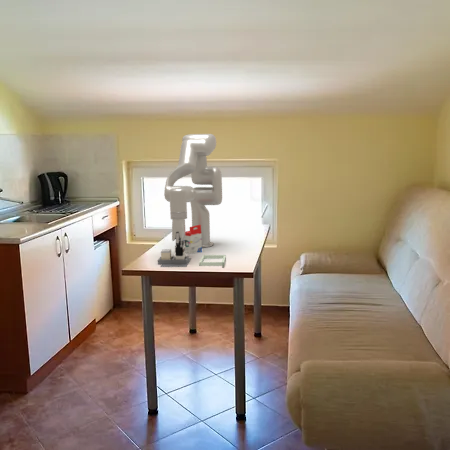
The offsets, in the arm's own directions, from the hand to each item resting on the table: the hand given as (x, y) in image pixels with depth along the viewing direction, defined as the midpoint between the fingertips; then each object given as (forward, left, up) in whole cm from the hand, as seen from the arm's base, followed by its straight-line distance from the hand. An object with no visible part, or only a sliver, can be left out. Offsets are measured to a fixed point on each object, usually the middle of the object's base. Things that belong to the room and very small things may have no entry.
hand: (180, 254), depth 228 cm
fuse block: (0, -2, -5) cm, 5 cm away
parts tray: (-1, +15, -5) cm, 16 cm away
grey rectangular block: (0, 0, -4) cm, 4 cm away
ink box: (-21, +3, -5) cm, 22 cm away
